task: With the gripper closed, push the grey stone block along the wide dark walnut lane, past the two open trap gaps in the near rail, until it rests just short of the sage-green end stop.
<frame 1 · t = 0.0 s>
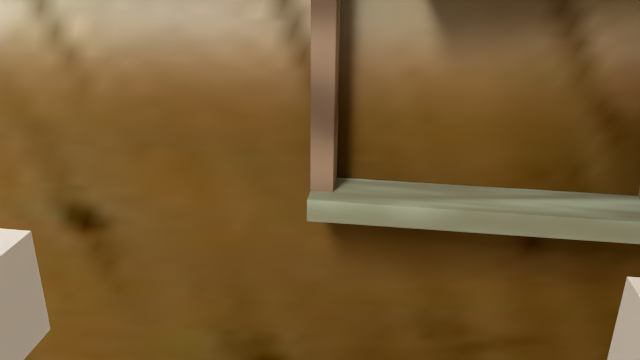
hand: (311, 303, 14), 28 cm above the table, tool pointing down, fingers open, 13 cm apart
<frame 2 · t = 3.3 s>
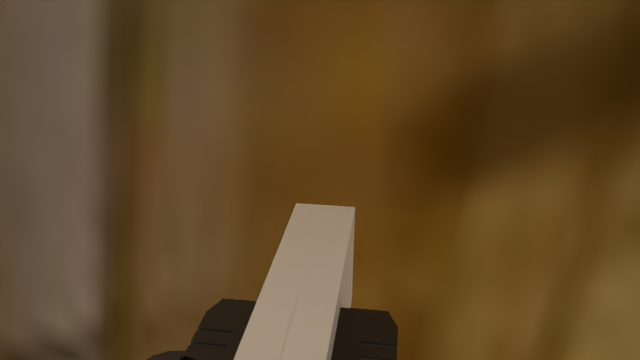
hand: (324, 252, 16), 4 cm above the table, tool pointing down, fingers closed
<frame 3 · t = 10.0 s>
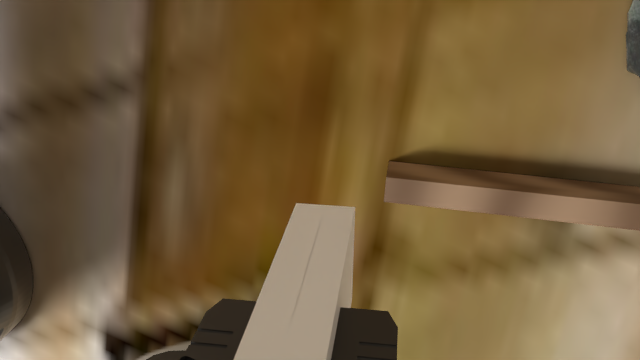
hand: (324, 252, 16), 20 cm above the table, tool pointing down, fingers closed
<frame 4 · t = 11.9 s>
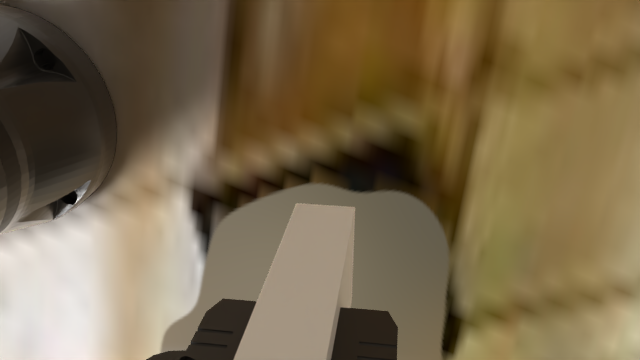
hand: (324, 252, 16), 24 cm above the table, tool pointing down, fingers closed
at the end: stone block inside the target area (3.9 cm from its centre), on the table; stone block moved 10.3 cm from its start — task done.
